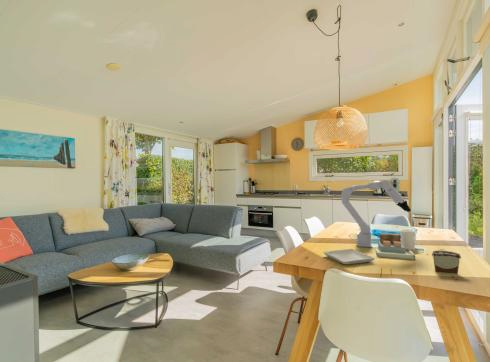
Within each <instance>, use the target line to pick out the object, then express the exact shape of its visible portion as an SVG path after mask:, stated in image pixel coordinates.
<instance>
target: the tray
mask: <svg viewBox="0 0 490 362" xmlns="http://www.w3.org/2000/svg"><path fill="white" fill-rule="evenodd" d="M375 254H376V256H377V257H378V258H388V259H389V258H391V259H401V260H413V261H415V260H416V255H415V253H414V252H413V250H409V251H408V252H405V253H396V252H383V251H380V250H379V248H378V247H376V248H375Z"/></svg>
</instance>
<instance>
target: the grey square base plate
mask: <svg viewBox="0 0 490 362" xmlns="http://www.w3.org/2000/svg"><path fill="white" fill-rule="evenodd" d="M377 243H378V244H377V245H378V246H377V249H378V251H383V252H396V253H406V249H405V247H404V246H403V245H402V243H401V247H395V246H393V244H391V246H384V245H383V243H380V241H378V242H377Z"/></svg>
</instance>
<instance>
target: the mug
mask: <svg viewBox="0 0 490 362" xmlns="http://www.w3.org/2000/svg"><path fill="white" fill-rule="evenodd" d="M416 239H417V235H416V231H415V230H412V229H400V240H401V243H402V245H403V246H404V247H405V250H409V251H413V250H414V251H415V250H416V246H415V245H416V244H415V243H416Z"/></svg>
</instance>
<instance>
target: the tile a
mask: <svg viewBox="0 0 490 362" xmlns="http://www.w3.org/2000/svg"><path fill="white" fill-rule="evenodd" d="M383 245H384V246H391V242H390V241H383Z"/></svg>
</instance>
